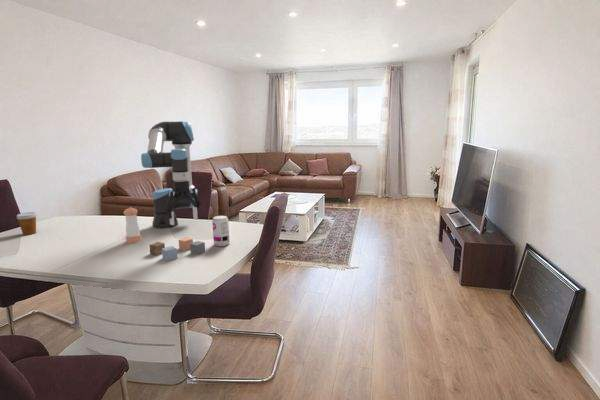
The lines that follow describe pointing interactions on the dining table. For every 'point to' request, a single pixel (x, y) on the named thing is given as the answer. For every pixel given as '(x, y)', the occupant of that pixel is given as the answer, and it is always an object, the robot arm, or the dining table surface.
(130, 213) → the pepper shaker
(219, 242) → the supplement can
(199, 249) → the charcoal cube
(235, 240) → the dining table surface
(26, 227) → the disposable coffee cup
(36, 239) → the dining table surface
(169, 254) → the slate blue cube
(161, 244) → the walnut cube
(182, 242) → the terracotta cube
